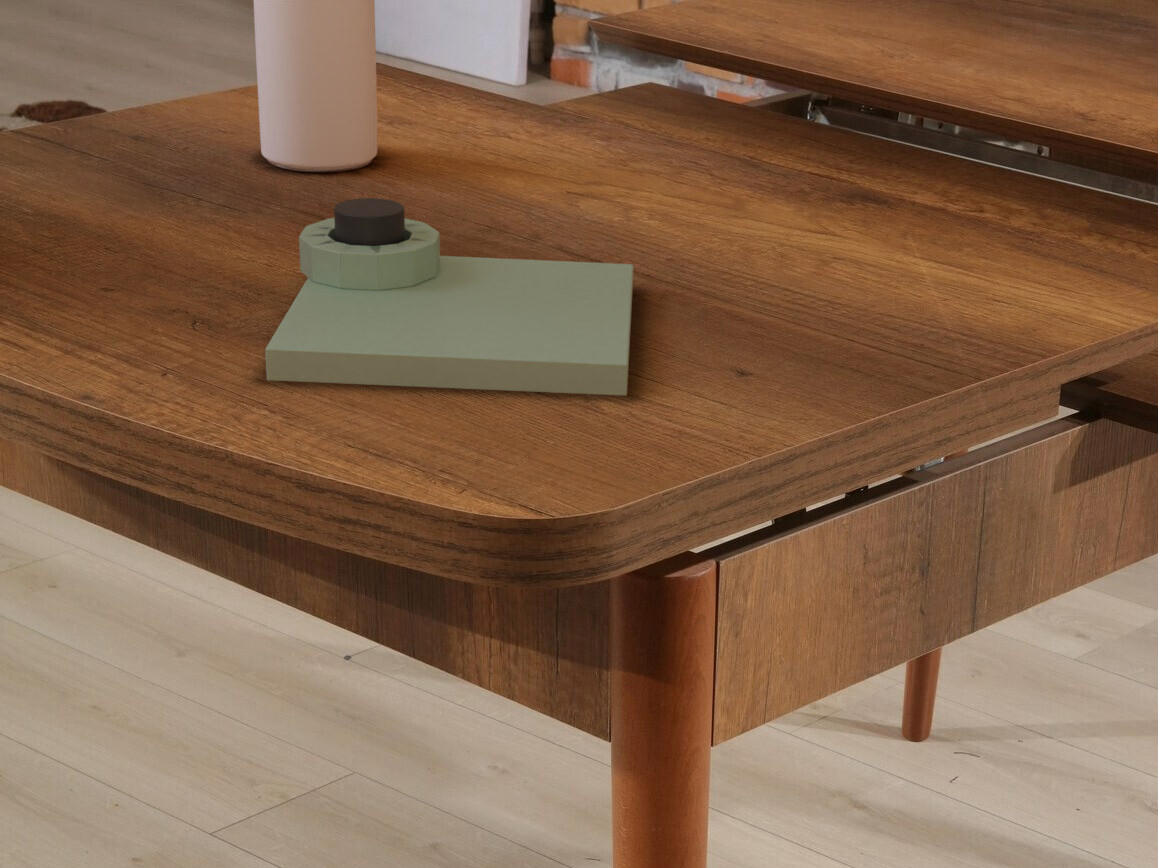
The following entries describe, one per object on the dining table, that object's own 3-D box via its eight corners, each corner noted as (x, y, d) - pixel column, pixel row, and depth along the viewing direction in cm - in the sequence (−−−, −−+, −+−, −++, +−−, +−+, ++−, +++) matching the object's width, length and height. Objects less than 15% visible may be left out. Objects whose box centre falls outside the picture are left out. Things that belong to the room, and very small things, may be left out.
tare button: (329, 250, 76) (328, 215, 75) (341, 230, 79) (340, 196, 78) (399, 253, 76) (399, 218, 75) (409, 233, 79) (408, 199, 78)
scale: (254, 381, 69) (250, 308, 68) (316, 276, 81) (314, 212, 80) (626, 397, 69) (629, 324, 68) (632, 290, 81) (635, 226, 80)
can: (343, 179, 97) (337, -49, 92) (239, 165, 98) (226, -61, 93) (397, 154, 102) (394, -63, 97) (297, 141, 104) (289, -73, 99)
